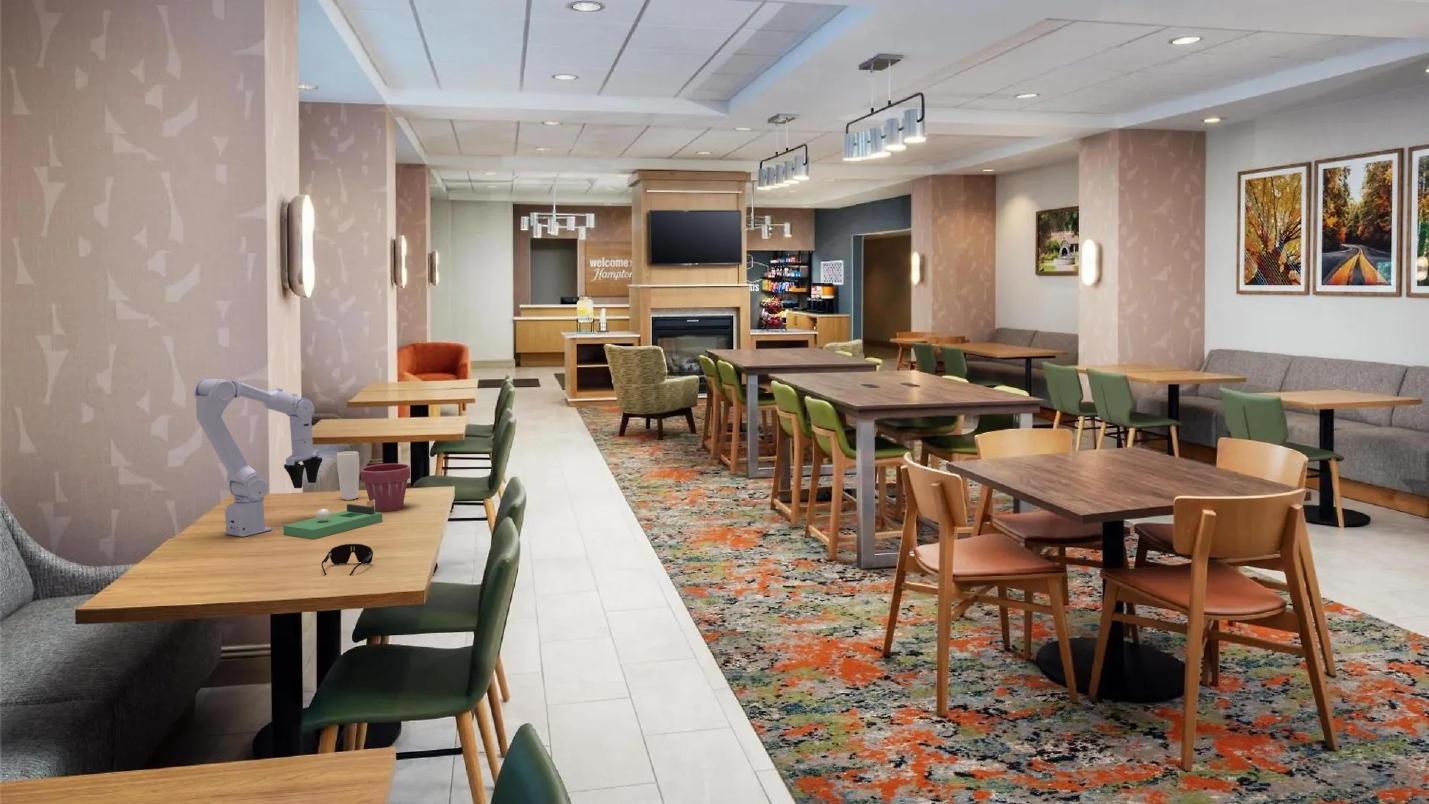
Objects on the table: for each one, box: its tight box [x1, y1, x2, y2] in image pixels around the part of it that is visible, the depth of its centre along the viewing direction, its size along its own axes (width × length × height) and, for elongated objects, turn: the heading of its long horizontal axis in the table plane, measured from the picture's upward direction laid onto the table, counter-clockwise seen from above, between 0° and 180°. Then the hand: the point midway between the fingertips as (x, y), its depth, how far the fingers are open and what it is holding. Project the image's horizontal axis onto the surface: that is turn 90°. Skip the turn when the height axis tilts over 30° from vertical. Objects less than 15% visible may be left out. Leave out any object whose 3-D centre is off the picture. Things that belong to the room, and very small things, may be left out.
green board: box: [282, 500, 383, 540], centre depth 290 cm, size 24×12×6 cm, turn 151°
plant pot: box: [360, 463, 411, 512], centre depth 315 cm, size 14×14×13 cm
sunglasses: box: [321, 543, 374, 576], centre depth 246 cm, size 10×12×5 cm
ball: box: [315, 508, 331, 522], centre depth 287 cm, size 4×4×4 cm
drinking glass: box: [336, 450, 360, 500], centre depth 330 cm, size 7×7×15 cm
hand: (305, 485), depth 299 cm, fingers open, 7 cm apart
